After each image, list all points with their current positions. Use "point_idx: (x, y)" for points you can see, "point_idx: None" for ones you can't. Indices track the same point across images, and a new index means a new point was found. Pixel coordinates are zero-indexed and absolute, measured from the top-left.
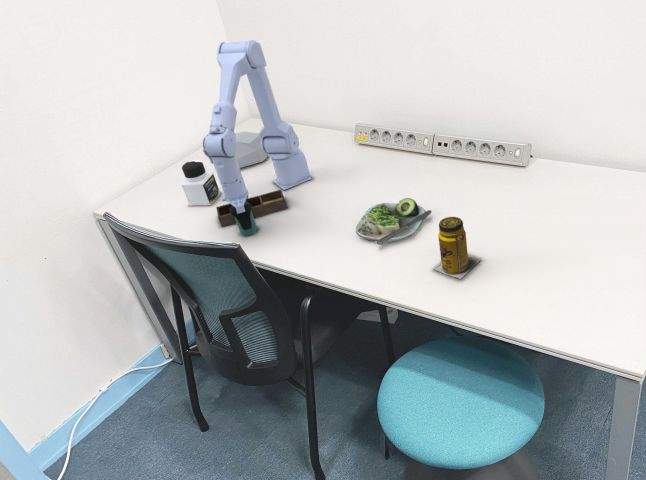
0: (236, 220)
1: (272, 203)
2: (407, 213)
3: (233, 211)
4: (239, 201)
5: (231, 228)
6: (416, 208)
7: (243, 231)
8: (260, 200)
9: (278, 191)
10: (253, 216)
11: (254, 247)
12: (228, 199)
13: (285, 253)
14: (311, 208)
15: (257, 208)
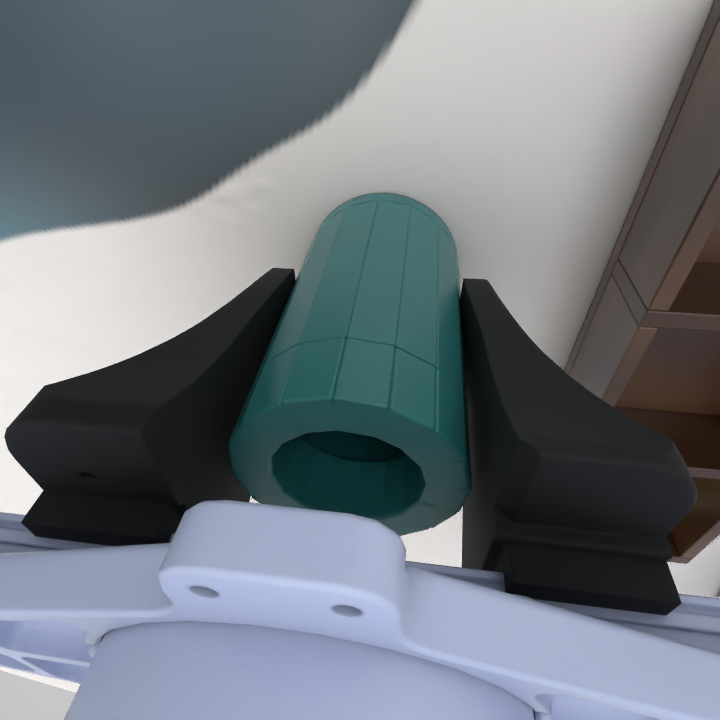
0: (322, 284)
1: None
2: None
3: (12, 453)
4: (14, 653)
5: (565, 113)
6: None
7: (314, 244)
8: None
9: (682, 548)
10: (583, 338)
11: (126, 256)
12: (111, 624)
13: (38, 381)
14: (428, 535)
15: None
